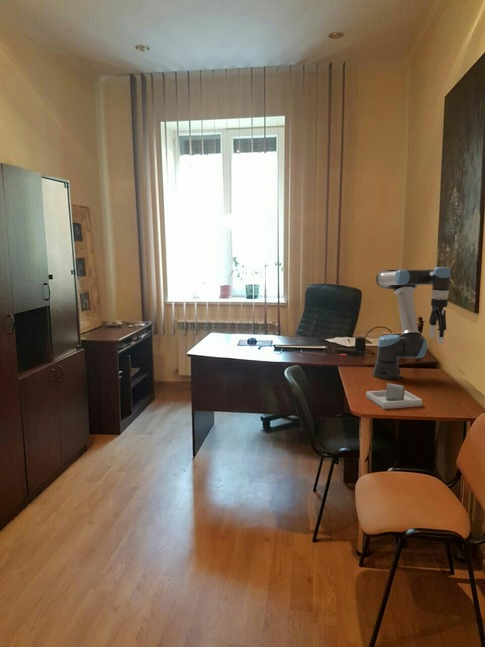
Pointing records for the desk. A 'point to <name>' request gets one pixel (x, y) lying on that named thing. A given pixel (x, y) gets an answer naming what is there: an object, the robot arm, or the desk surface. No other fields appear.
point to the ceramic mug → (395, 392)
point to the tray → (384, 403)
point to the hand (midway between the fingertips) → (435, 340)
